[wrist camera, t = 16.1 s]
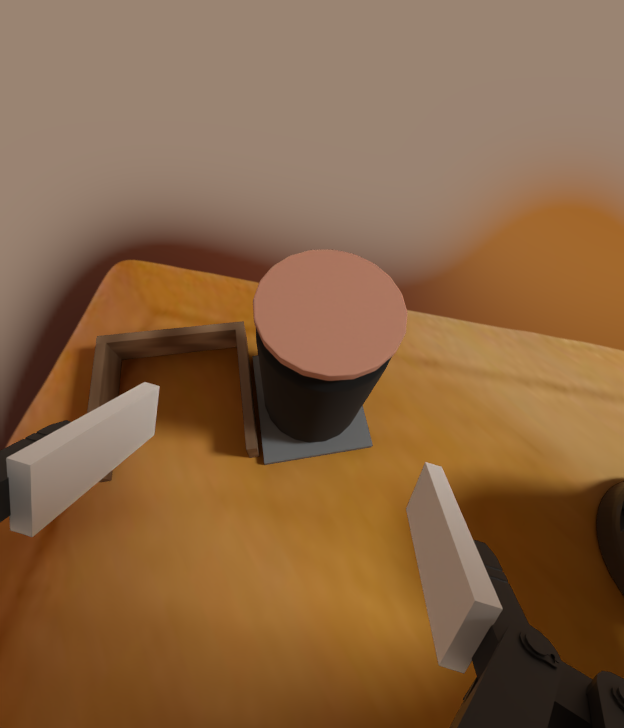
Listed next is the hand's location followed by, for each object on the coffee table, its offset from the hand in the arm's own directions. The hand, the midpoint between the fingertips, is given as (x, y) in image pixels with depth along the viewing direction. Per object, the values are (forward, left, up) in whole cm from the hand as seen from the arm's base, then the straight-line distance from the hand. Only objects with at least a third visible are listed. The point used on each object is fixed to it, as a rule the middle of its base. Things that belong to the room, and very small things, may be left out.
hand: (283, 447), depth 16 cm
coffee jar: (-5, -9, -20) cm, 23 cm away
